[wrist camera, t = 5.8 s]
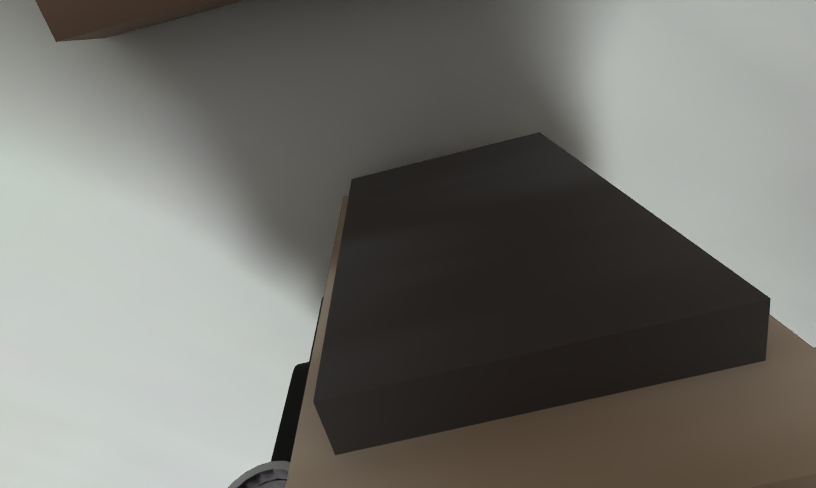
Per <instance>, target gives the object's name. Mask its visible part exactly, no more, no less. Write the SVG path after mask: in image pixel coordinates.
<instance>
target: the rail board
mask: <svg viewBox="0 0 816 488" xmlns="http://www.w3.org/2000/svg"><path fill="white" fill-rule="evenodd" d="M239 1H243V0H36V2H37V4H38V6H39V8H40V10H41V12H42V14H43V16H44V18H45V20H46V22H47V24H48V26H49V28H50V30H51V32H52V34H53V36H54V38H55V40H56V42H58V41H71V40H85V39H98V38H107V37H110V36H114V35H118V34H121V33H125V32H129V31H132V30H136V29H140V28H143V27H147V26H151V25H155V24H158V23H162V22H166V21H169V20H173V19H177V18H180V17H184V16H188V15H191V14H195V13H199V12H203V11H206V10H210V9H214V8H217V7H221V6H225V5H228V4H232V3H236V2H239Z"/></svg>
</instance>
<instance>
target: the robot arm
mask: <svg viewBox="0 0 816 488" xmlns="http://www.w3.org/2000/svg"><path fill="white" fill-rule="evenodd" d="M323 298H324V296H323ZM323 298H322V302H321V307H320V312H319V316H318V321H317V326H316V331H315V336H314V341H313V346H312V350H311V355H310V360H309V362H306V363H302V364H298V365H296V366H295V368H294V370H293V374H292V378H291V382H290V386H289V390H288V394H287V398H286V402H285V406H284V410H283V414H282V419H281V423H280V427H279V431H278V435H277V439H276V443H275V447H274V451H273V455H272V459H271V462H268V463H265V464H261V465H258V466H256V467H255V468H253V469H251V470H249V471H247V472H245V473H244V474H243V475H241V476H240V477H239V478H238V479H236V480H235V481H234V482H233V483H232V484H231V485H230V486H229V487H228V488H285V487H286V482H287V477H288V472H289V467H290V462H291V457H292V452H293V447H294V442H295V437H296V432H297V427H298V422H299V417H300V412H301V407H302V402H303V397H304V392H305V387H306V382H307V377H308V372H309V367H310V362H311V357H312V352H313V347H314V342H315V337H316V332H317V328H318V323H319V318H320V313H321V308H322V303H323ZM813 348H814V349H816V348H815V347H813Z"/></svg>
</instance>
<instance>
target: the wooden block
mask: <svg viewBox="0 0 816 488" xmlns="http://www.w3.org/2000/svg"><path fill="white" fill-rule="evenodd" d="M769 311H770V298H769V297H768V296H766V295H765V294H763V293H762V292H761V291H759V290H758V289H757V288H755V287H754V286H752V285H751V284H750V283H748V282H747V281H745V280H744V279H743V278H741V277H740V276H738V275H737V274H736V273H734V272H733V271H732V270H730V269H729V268H727V267H726V266H725V265H723V264H722V263H720V262H719V261H718V260H716V259H715V258H713V257H712V256H711V255H709V254H708V253H706V252H705V251H704V250H702V249H701V248H700V247H698V246H697V245H695V244H694V243H693V242H691V241H690V240H688V239H687V238H686V237H684V236H683V235H681V234H680V233H679V232H677V231H676V230H675V229H673V228H672V227H670V226H669V225H668V224H666V223H665V222H663V221H662V220H661V219H659V218H658V217H656V216H655V215H654V214H652V213H651V212H649V211H648V210H647V209H645V208H644V207H643V206H641V205H640V204H638V203H637V202H636V201H634V200H633V199H631V198H630V197H629V196H627V195H626V194H624V193H623V192H622V191H620V190H619V189H618V188H616V187H615V186H613V185H612V184H611V183H609V182H608V181H606V180H605V179H604V178H602V177H601V176H599V175H598V174H597V173H595V172H594V171H592V170H591V169H590V168H588V167H587V166H586V165H584V164H583V163H581V162H580V161H579V160H577V159H576V158H574V157H573V156H572V155H570V154H569V153H567V152H566V151H565V150H563V149H562V148H561V147H559V146H558V145H556V144H555V143H554V142H552V141H551V140H549V139H548V138H547V137H545V136H544V135H542V134H541V133H536V134H532V135H528V136H524V137H520V138H516V139H512V140H508V141H504V142H500V143H496V144H491V145H487V146H483V147H479V148H475V149H471V150H467V151H463V152H459V153H455V154H451V155H447V156H443V157H439V158H435V159H431V160H427V161H423V162H419V163H415V164H411V165H407V166H403V167H399V168H395V169H391V170H387V171H383V172H379V173H375V174H371V175H367V176H363V177H359V178H355V179H352V181H351V187H350V192H349V195H348V196H344V198H343V203H342V208H341V213H340V218H339V223H338V228H337V233H336V238H335V243H334V248H333V253H332V258H331V263H330V268H329V273H328V278H327V283H326V288H325V293H324V298H323V303H322V308H321V313H320V318H319V323H318V328H317V332H316V337H315V342H314V347H313V352H312V357H311V362H310V367H309V372H308V377H307V382H306V387H305V392H304V397H303V402H302V407H301V412H300V417H299V422H298V427H297V432H296V437H295V442H294V447H293V452H292V457H291V462H290V467H289V472H288V477H287V482H286V487H285V488H816V349H814V348H813V347H812V346H810V345H809V344H808V343H806V342H805V341H804V340H802V339H801V338H800V337H799V336H797V335H796V334H795V333H793V332H792V331H791V330H789V329H788V328H787V327H785V326H784V325H783V324H781V323H780V322H779V321H778V320H776V319H775V318H774V317H772V316H771V315H770V314H769Z"/></svg>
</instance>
